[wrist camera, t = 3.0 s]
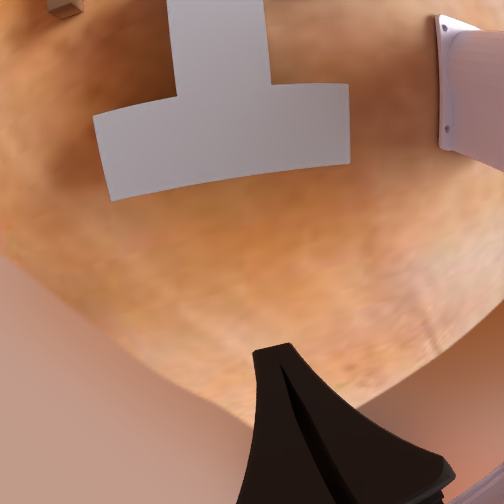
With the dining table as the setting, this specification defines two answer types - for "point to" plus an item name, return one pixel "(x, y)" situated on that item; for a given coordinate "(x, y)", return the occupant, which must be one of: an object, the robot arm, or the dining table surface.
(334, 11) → the dining table surface
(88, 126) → the dining table surface
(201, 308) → the dining table surface
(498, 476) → the robot arm
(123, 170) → the tee block
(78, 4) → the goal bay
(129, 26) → the dining table surface
